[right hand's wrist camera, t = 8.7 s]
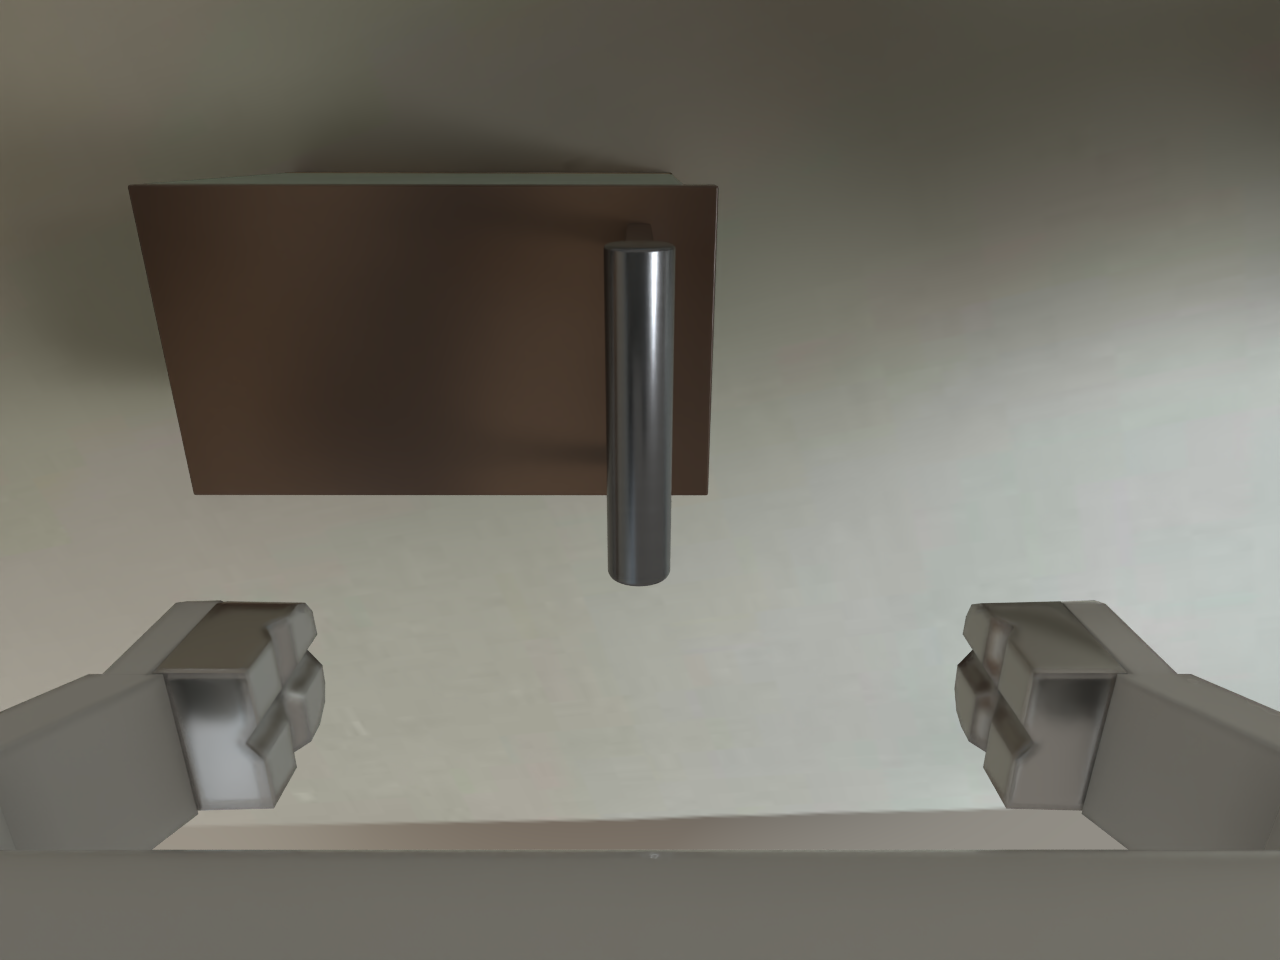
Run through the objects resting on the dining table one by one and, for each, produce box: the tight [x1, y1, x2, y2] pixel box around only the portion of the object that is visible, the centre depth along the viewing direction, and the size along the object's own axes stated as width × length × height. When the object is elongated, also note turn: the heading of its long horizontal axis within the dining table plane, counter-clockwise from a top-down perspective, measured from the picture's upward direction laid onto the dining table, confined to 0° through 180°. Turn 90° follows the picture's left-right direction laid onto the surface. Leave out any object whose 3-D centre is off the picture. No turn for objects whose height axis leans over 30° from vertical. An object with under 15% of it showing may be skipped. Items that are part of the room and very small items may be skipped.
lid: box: [128, 184, 719, 586], centre depth 22 cm, size 17×10×9 cm, turn 90°
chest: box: [148, 172, 683, 185], centre depth 31 cm, size 16×10×11 cm, turn 90°
